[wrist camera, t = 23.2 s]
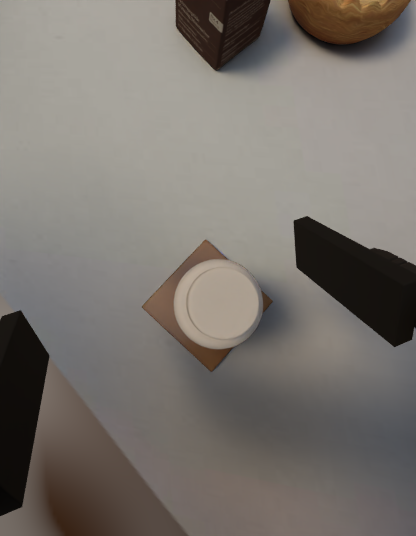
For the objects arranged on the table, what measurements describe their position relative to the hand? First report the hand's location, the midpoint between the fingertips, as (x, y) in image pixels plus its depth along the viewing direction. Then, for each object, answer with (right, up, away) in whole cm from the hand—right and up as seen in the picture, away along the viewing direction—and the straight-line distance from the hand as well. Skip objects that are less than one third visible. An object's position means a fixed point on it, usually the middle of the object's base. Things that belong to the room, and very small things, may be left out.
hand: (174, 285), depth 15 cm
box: (+3, +24, +16) cm, 29 cm away
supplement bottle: (+2, -2, +12) cm, 13 cm away
